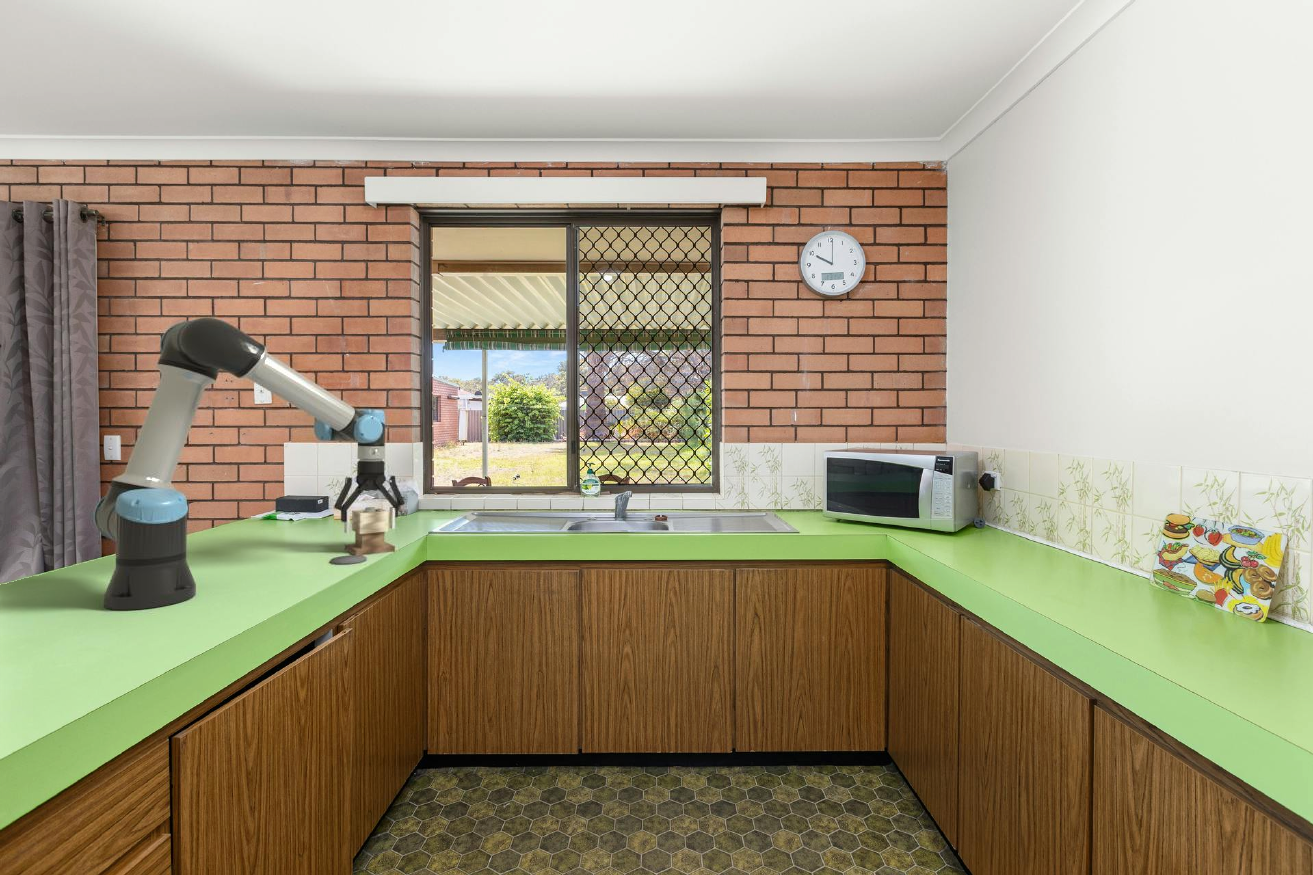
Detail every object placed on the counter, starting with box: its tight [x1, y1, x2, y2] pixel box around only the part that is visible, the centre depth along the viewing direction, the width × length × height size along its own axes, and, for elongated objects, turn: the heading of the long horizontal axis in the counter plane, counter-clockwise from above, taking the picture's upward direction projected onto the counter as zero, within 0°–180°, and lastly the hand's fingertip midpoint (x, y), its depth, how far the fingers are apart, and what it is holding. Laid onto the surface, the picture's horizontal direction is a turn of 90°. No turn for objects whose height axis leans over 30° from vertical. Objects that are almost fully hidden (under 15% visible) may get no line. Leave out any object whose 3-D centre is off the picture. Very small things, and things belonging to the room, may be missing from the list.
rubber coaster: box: [330, 554, 368, 566], centre depth 168 cm, size 9×9×1 cm
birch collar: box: [351, 508, 389, 534], centre depth 182 cm, size 8×8×6 cm
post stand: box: [344, 506, 396, 556], centre depth 182 cm, size 11×11×13 cm
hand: (370, 530), depth 182 cm, fingers open, 12 cm apart
